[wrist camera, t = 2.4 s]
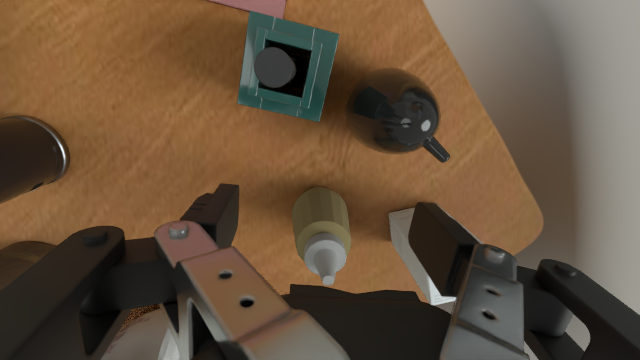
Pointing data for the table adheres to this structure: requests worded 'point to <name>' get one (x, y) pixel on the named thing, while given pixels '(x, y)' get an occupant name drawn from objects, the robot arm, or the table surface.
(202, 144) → the table surface
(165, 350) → the chamber pot
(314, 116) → the green square vase
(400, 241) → the cosmetic box
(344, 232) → the squeeze bottle
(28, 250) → the wooden container
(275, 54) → the stepped grey rod
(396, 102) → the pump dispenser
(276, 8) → the place mat
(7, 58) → the table surface
